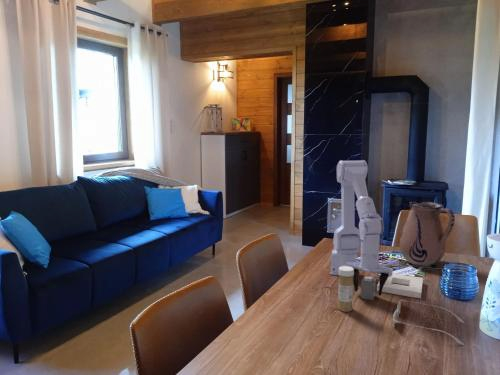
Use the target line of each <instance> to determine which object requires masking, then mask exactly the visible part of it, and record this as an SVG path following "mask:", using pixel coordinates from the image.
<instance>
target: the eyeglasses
mask: <svg viewBox="0 0 500 375" xmlns="http://www.w3.org/2000/svg"><path fill="white" fill-rule="evenodd" d="M402 302H411V301H409V300H406V299H402V298H401V299H399V300H398V302H397V305H396V306H397V307H396V309H395V311H394V313H393V317H392V325H393V327H392V328H395V326H396V325H395V324H402V322H400V321H398V320H397V318H399V314H401V305H402ZM415 303H416V304H417V301H416V302H415V301H413V304H415ZM419 304H422V305H423V303H422V302H419ZM424 305H426V306H427V305H428V304H427V303H426V304H425V303H424ZM429 306H432V307H433V305H432V304H429ZM434 307H435V308H440V309H442V310H444V311H447V312H449V313H451V315H453V316H454V317H455V318H456V319H457V321H458V322H460V323H463V324H465V321H464V320H463V319H461V317H459V316H458V315H457V314H455V313H454V312H452V310H449V309H447V308H445V307H441V306H438V305H434ZM403 324H405V325H408V326H411V324H409V323H406V322H403ZM412 327H418V328H420V326H418V325H414V324H412ZM421 328H423V329H425V327H424V326H421ZM426 329H427V330H430V328H428V327H426ZM431 330H432V331H436V332H437V331H438V332H442V333H444V334H446V335H448V336H450V337H451V338H452V339H453V340H455V341H456V344H458V345H460V346H464V345H465V344H464V342H462V340H460V339H459V338H457V337H455V336H454V335H452V334H450V333H448V332H447V331H444V330H440V329H437V328H431Z"/></svg>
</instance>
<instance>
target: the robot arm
mask: <svg viewBox="0 0 500 375" xmlns="http://www.w3.org/2000/svg"><path fill="white" fill-rule="evenodd" d="M368 170H369V167H368V163H367V161H366V160H364V159H362V160H341V159H340V160H339V161H338V163H337V165H336V181H337V183H340V187H341V188H340V193H341V196H340V197H341V198H340V199H341V202H340V203H341V205H340V208H341V213H340V214H341V218H340V219H341V224H340V226H339V227H337V228H336V229H334V232H333V238H332V239H333V240H332V242H333V245H332V246H333V247H334V248H333V249H332V250H331V256H330V273H329V274H330V275H334V276H339V267H341V266H350V267H352V268H353V269H354V276H353V289H354V292H358V290H359V271H362V272H366V273H373V274H374V273H375V274H379V279H378V282H380V283H379V291H378V296H382V293H383V292H382V289H383V286H384V284H385V282H386V280H387V279H388V276H392V274H394V273H393V272H394V271H393V270H394V269H393V268H392V267H388V266H384V265H381V264H379V262H380V261H379V260H380V259H379V258H380V242H381V241H380V239H381V235H383V233H384V229H385V227H384V221H383V220H384V219H383V218H382V217H381V216H380V214H379V213H377V209H376V207H375V203H374V200H373V198H371V197H370V196H369V193H368V189H367V188H368V187H367V183H366V178H367V176H368V172H369V171H368ZM355 195H356V198H357V200H356V202H355ZM355 207H356V210H357V214H358V218H359V222H358V227H356V226H355V223H356V222H355ZM359 251H360V262H358V261H357V260H358V253H359Z"/></svg>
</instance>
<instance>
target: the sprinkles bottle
mask: <svg viewBox="0 0 500 375" xmlns="http://www.w3.org/2000/svg"><path fill="white" fill-rule="evenodd" d="M353 276H354V269H353V268H352V267H350V266H341V267H339V275H338V293H337V294H338V297H337V300H338V302H337V304H338V305H337V308H338V310H339V311H342V312H345V313H346V312H347V313H348V312H351V311H352V310H353V300H354V299H353V298H354V284H353Z"/></svg>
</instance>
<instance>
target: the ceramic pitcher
mask: <svg viewBox="0 0 500 375" xmlns="http://www.w3.org/2000/svg"><path fill="white" fill-rule="evenodd" d="M443 212H445V213H446V214H447V215H448V217H449V218H448V219H449V221H448V224H447V226H446V229H445V231H444V228H443V224H442V220H441V216H440V214H441V213H443ZM455 221H456V220H455V214H454V213H453V211H452V210H451V209H450V208H446V207H444V205H443V204H441V203H437V202H432V201H422V202H417V201H410V202H409V212H408V215H407V217H406V220H405V222H404V224H403V227H402V230H401V233H400V237H399V242H398V245H399V246H398V247H399V251H400V253H401V255H402V257H403V258H404V259H405V260H406V261H407V262H408V263H410V264H412V265H413V266H421V267H429V266H430V267H431V266H434V265H436V264H438V263H439V262H440V261H441V260H442V259H443V258H444V256H445V253H446V248H447V246H446V244H447V243H446V240H447V238H448V237H449V235H450V234H451V231H452V230H453V228H454V226H455Z"/></svg>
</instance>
